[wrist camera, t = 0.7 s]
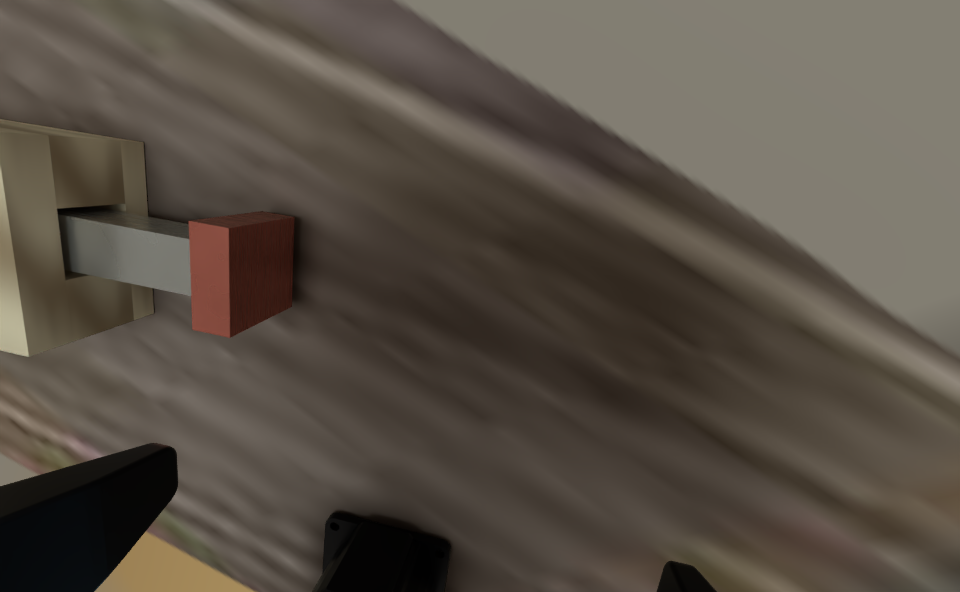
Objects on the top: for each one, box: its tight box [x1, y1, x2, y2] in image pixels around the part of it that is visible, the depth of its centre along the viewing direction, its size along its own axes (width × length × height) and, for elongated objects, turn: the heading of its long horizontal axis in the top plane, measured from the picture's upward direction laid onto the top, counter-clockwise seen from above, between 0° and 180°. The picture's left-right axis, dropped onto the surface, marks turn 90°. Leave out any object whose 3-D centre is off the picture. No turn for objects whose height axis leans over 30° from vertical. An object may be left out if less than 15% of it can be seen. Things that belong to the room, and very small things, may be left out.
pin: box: [57, 206, 294, 338], centre depth 19 cm, size 4×12×4 cm, turn 82°
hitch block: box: [0, 119, 154, 357], centre depth 19 cm, size 8×8×6 cm
